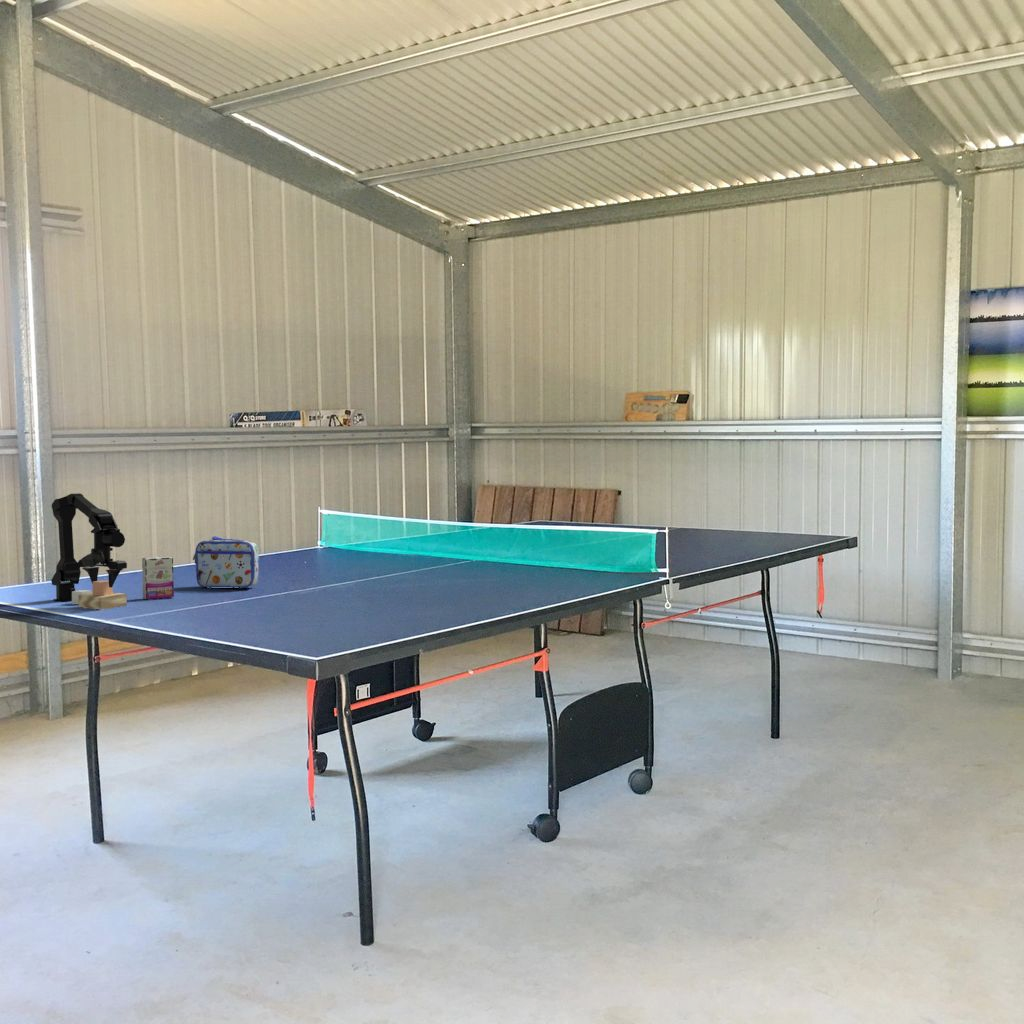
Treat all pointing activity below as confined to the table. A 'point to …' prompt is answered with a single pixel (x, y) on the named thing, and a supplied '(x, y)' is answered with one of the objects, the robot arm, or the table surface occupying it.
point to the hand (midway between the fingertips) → (102, 586)
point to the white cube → (76, 595)
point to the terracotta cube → (102, 588)
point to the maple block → (102, 601)
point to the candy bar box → (157, 577)
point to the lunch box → (226, 563)
